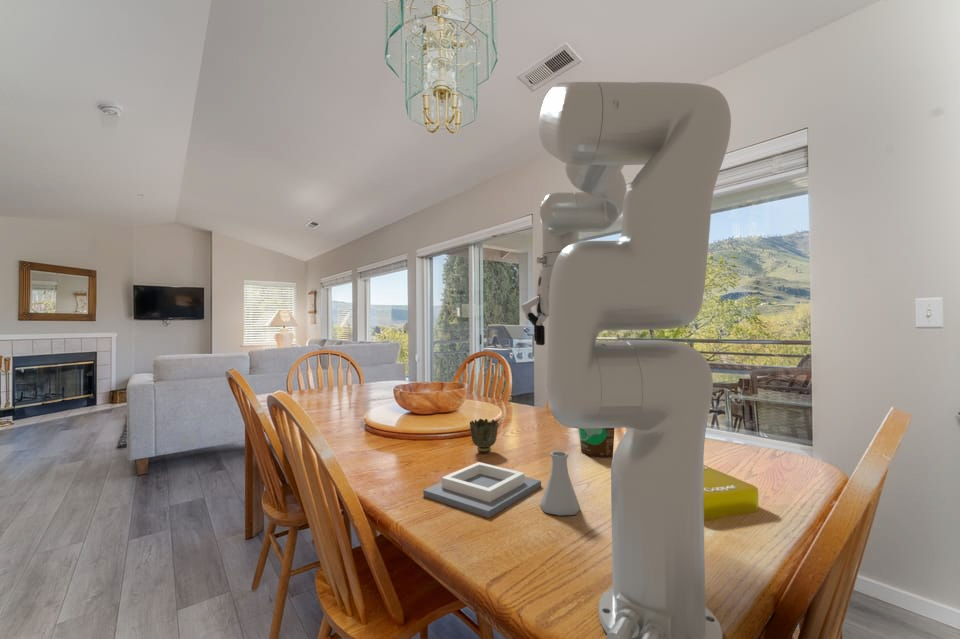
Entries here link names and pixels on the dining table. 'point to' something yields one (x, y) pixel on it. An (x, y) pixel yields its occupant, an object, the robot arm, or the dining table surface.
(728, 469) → the dining table surface
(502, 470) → the collar board
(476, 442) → the cup
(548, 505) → the flask
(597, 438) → the food container
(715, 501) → the element tile
